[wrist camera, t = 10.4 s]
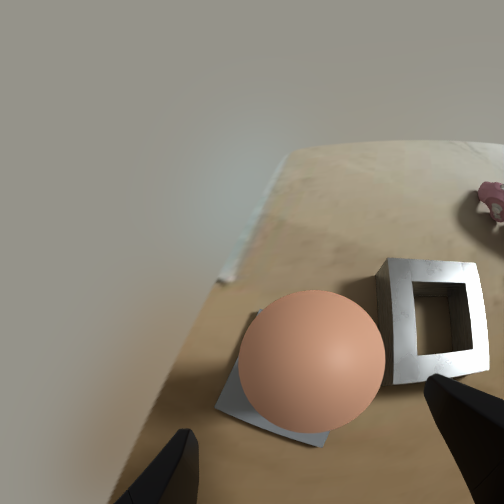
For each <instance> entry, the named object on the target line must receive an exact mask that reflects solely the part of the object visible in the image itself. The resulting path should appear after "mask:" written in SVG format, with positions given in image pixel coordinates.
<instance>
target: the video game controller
mask: <svg viewBox="0 0 504 504" xmlns="http://www.w3.org/2000/svg"><path fill="white" fill-rule="evenodd" d="M478 197H479V199H480V201H482V202H483V203H485V204H486V205H487V206H488V208H489V209H490V216H491V218H493V219H494V220H495V221H497V222H504V184H501V183H498V182H494V183H491V182H484V183H482V185H481V186H480V188H479V190H478Z"/></svg>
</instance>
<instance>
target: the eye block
mask: <svg viewBox="0 0 504 504" xmlns="http://www.w3.org/2000/svg"><path fill="white" fill-rule="evenodd" d="M375 276H376V289H377V306H378V330H379V332H380V334H381V337H382V340H383V344H384V349H385V370H384V375H383V379H382V382H381V385H380V386H391V385H403V384H413V383H421V382H426V381H427V378H428V377H429V376H431V375H433V374H435V373H438V374H441V375H443V376H446V377H448V378H455V377H460V376H465V375H470V374H474V373H478V372H482V371H485V370H489V349H488V336H487V325H486V317H485V310H484V303H483V297H482V291H481V286H480V281H479V276H478V271H477V267H476V263H467V262H450V261H434V260H417V259H400V258H387V259H386V261H385V262H384V264H383V265H382V266H381V268H380V269H379V271H378V272H377V273H376V275H375ZM413 296H448V303H449V311H450V320H451V332H452V348H453V352H451V353H442V354H432V355H421V356H417V339H416V320H415V308H414V297H413Z"/></svg>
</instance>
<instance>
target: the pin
mask: <svg viewBox="0 0 504 504" xmlns="http://www.w3.org/2000/svg"><path fill="white" fill-rule="evenodd" d="M238 369H239V377H240V382H241V385H242V388H243V390H244V393H245V395H246V397H247V398H248V400H249V402H250V403H251V405H252V406H253V407H254V409H255V410H256V411H257V412H258V413H259V414H260V415H261V416H262V417H264V418H265V419H266V420H268V421H269V422H271V423H273V424H274V425H276V426H278V427H280V428H283V429H286V430H289V431H293V432H297V433H321V432H326V431H330V430H333V429H336V428H339V427H341V426H343V425H345V424H347V423H349V422H350V421H352V420H353V419H355V418H356V417H357V416H359V415H360V414H361V413H362V412H363V411H364V410H365V409H366V408H367V407H368V406H369V404H370V403H371V402H372V400H373V399H374V397H375V396H376V394H377V392H378V390H379V388H380V385H381V382H382V379H383V375H384V370H385V349H384V344H383V340H382V337H381V334H380V332H379V330H378V328H377V326H376V324H375V323H374V321H373V320H372V318H371V317H370V316H369V315H368V314H367V312H366V311H365V310H363V309H362V308H361V307H360V306H359V305H358V304H356V303H355V302H353V301H352V300H350V299H348V298H346V297H344V296H341V295H339V294H336V293H332V292H328V291H319V290H308V291H300V292H296V293H292V294H289V295H287V296H284V297H282V298H280V299H278V300H276V301H274V302H273V303H271V304H270V305H268V306H267V307H266V308H265V309H263V310H262V311H261V312H260V313H259V314H258V315H257V316H256V318H255V319H254V320H253V321H252V323H251V324H250V326H249V327H248V329H247V331H246V333H245V335H244V337H243V340H242V343H241V346H240V351H239V359H238Z"/></svg>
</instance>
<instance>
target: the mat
mask: <svg viewBox="0 0 504 504" xmlns="http://www.w3.org/2000/svg"><path fill="white" fill-rule="evenodd" d="M261 311H262V309H260V310H259V312H258V314H259V313H260V312H261ZM258 314H257V315H258ZM238 359H239V356H238V358H237V360H236V362H235V365H234V367H233V369H232V371H231V373H230V375H229V377H228V379H227V382H226V384H225V386H224V388H223V390H222V392H221V394H220V396H219V398H218V400H217V403H216V405H215V407H214V408H216V409H218V410H220V411H222V412H224V413H227V414H229V415H231V416H233V417H236V418H238V419H240V420H243V421H245V422H248V423H250V424H253V425H255V426H258V427H260V428H263V429H266V430H268V431H271V432H274V433H277V434H279V435H282V436H285V437H288V438H291V439H294V440H297V441H301V442H304V443H307V444H311V445H314V446H318V447H321V448H322V447H323V445H324V443H325V441H326V439H327V436H328V434H329V432H330V431H326V432H321V433H297V432H293V431H289V430H286V429H283V428H280V427H278V426H276V425H274V424H273V423H271V422H269V421H268V420H266V419H265V418H264V417H262V416H261V415H260V414H259V413H258V412H257V411H256V410H255V409H254V407H253V406H252V405H251V403H250V402H249V400H248V398H247V397H246V395H245V393H244V390H243V388H242V385H241V382H240V377H239V369H238Z"/></svg>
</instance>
